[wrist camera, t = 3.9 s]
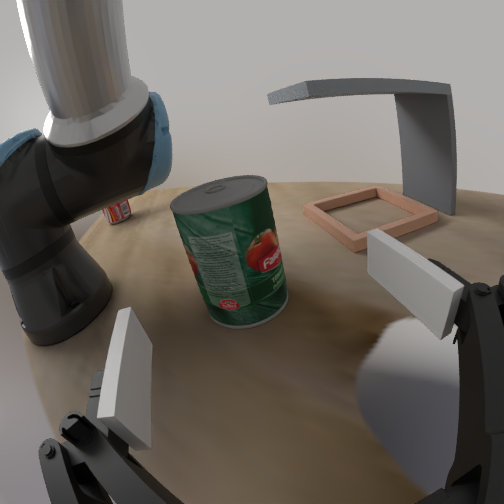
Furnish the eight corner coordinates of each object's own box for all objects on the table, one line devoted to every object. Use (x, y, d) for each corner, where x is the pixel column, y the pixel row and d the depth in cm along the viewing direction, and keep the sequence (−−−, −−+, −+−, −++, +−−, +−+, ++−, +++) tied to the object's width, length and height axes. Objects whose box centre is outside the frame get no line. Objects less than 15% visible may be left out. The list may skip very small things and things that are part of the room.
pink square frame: (354, 252, 30) (353, 241, 29) (303, 213, 42) (302, 204, 42) (437, 221, 31) (438, 211, 31) (377, 193, 44) (377, 185, 43)
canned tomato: (301, 310, 24) (281, 186, 19) (214, 340, 23) (168, 220, 18) (273, 268, 31) (252, 170, 26) (204, 291, 30) (170, 193, 25)
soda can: (114, 218, 69) (99, 177, 63) (136, 211, 68) (121, 168, 63) (104, 228, 62) (87, 184, 57) (127, 221, 62) (111, 174, 57)
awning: (331, 259, 30) (305, 81, 21) (292, 223, 40) (267, 94, 32) (454, 213, 32) (450, 84, 24) (404, 191, 43) (393, 85, 34)
